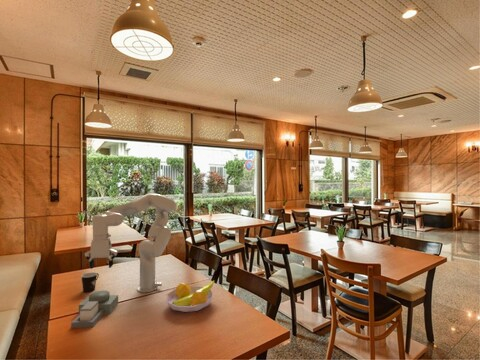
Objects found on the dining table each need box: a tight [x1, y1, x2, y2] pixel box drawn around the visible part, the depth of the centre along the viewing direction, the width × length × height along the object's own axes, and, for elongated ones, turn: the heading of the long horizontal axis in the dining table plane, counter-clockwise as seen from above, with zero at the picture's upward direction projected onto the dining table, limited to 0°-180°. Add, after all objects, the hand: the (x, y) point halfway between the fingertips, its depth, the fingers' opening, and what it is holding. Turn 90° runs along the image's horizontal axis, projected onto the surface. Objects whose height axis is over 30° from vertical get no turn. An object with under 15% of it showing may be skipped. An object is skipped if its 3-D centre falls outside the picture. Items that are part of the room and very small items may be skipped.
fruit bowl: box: [165, 280, 215, 313], centre depth 150 cm, size 28×27×11 cm
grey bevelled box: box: [79, 301, 98, 321], centre depth 133 cm, size 5×8×7 cm, turn 4°
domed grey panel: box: [70, 289, 119, 329], centre depth 138 cm, size 16×24×8 cm
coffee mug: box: [80, 271, 100, 294], centre depth 169 cm, size 12×9×10 cm
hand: (101, 267), depth 146 cm, fingers open, 9 cm apart
